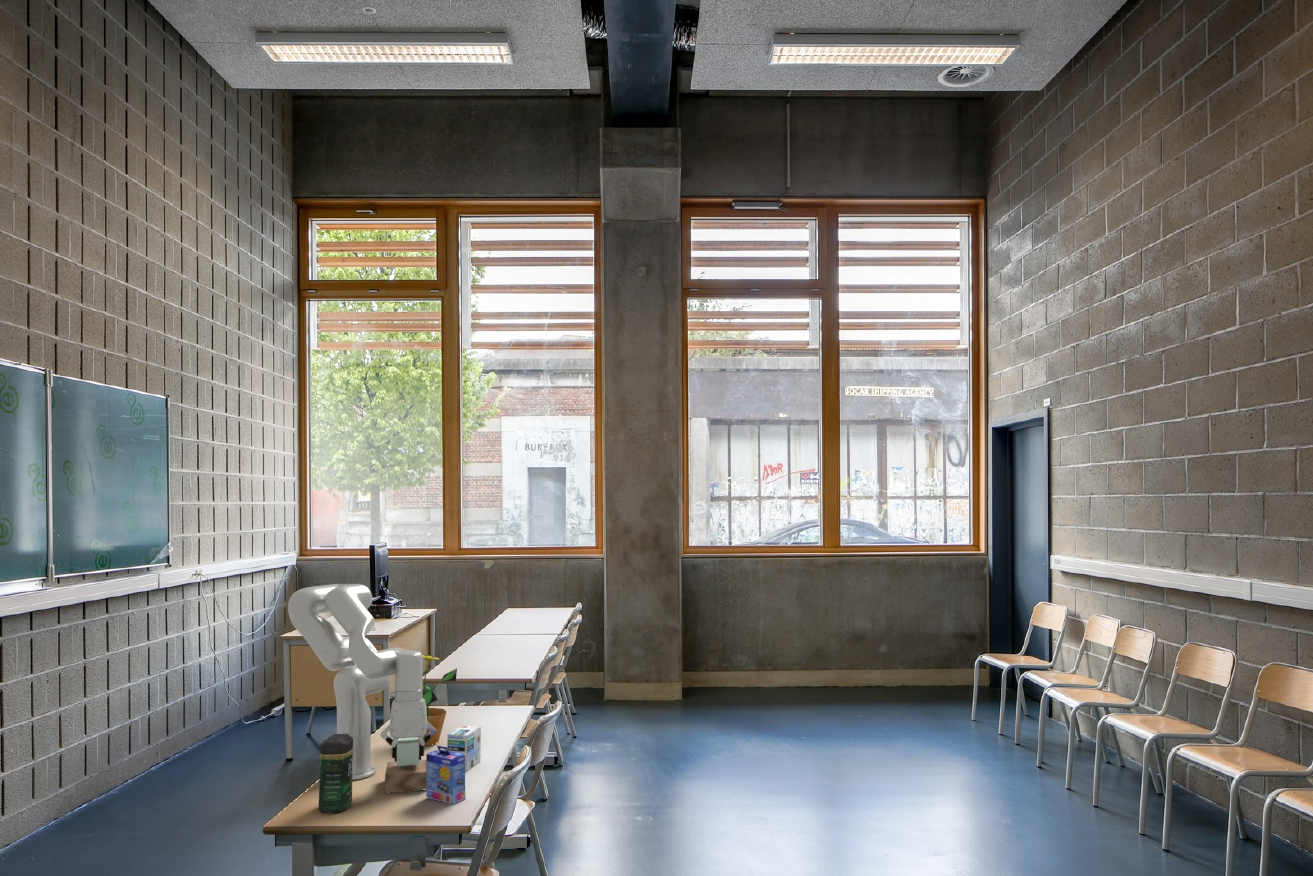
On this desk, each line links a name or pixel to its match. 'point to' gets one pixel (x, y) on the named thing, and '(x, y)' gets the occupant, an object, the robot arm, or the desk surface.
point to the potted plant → (434, 714)
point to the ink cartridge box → (445, 775)
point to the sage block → (408, 751)
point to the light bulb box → (466, 744)
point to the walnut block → (405, 777)
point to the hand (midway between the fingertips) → (408, 759)
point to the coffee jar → (335, 773)
